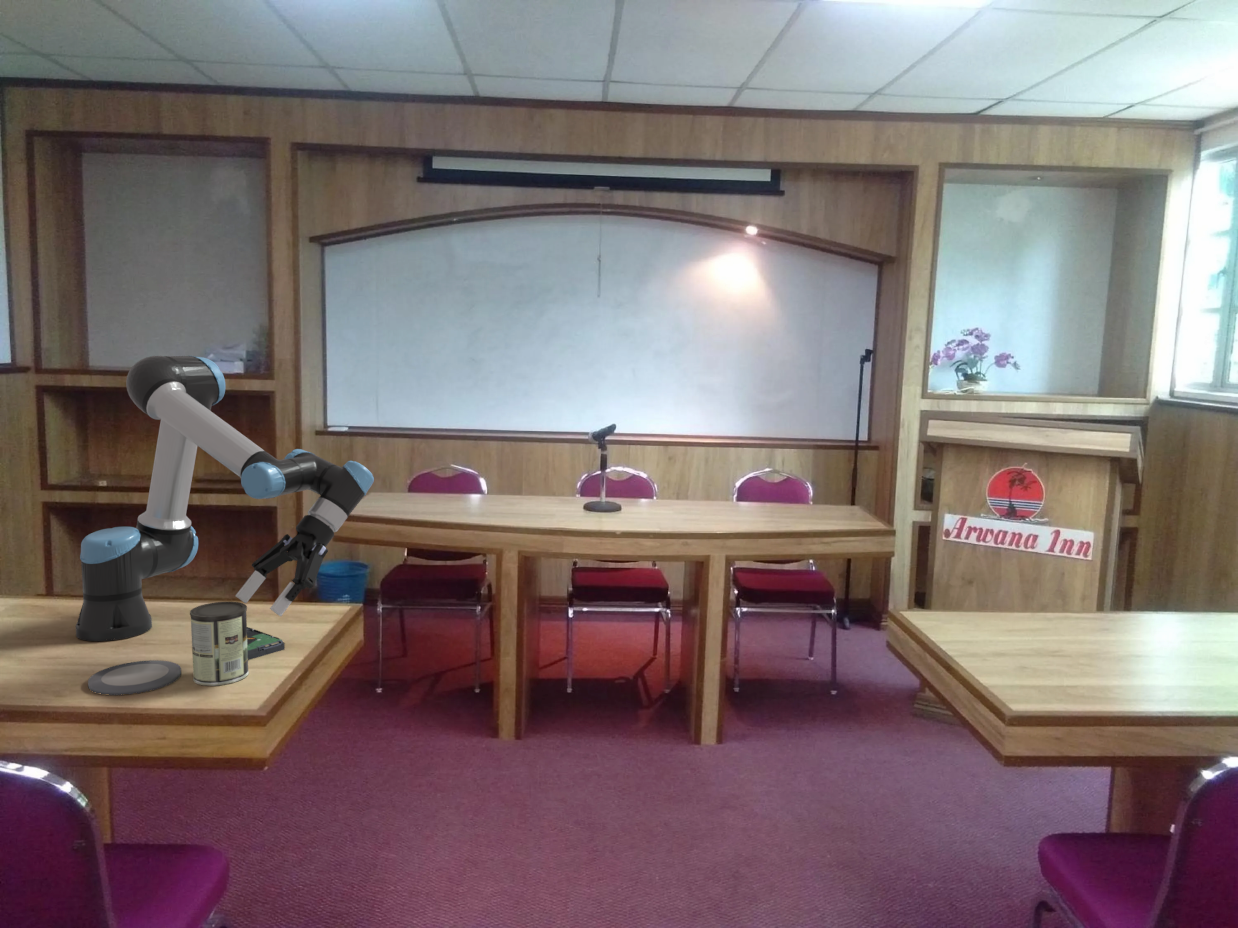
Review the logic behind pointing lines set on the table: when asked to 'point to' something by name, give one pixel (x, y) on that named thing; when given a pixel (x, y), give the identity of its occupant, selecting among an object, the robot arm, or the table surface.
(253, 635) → the disk drive
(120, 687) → the grey flat disc
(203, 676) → the coffee can
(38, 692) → the table surface
